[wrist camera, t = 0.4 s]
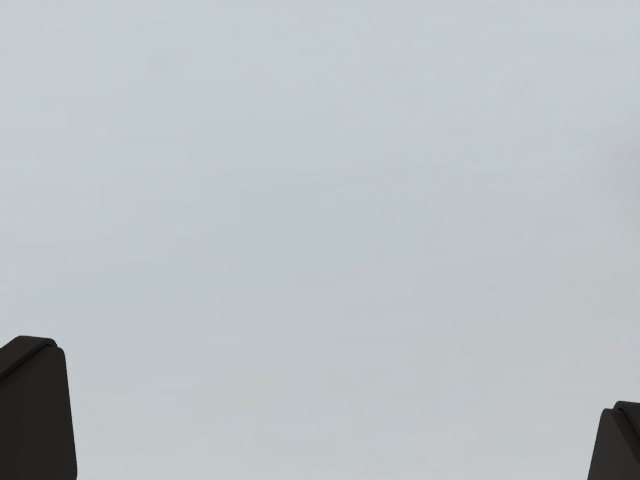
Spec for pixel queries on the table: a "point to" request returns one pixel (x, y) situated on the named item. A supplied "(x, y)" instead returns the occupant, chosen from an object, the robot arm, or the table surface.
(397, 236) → the table surface
